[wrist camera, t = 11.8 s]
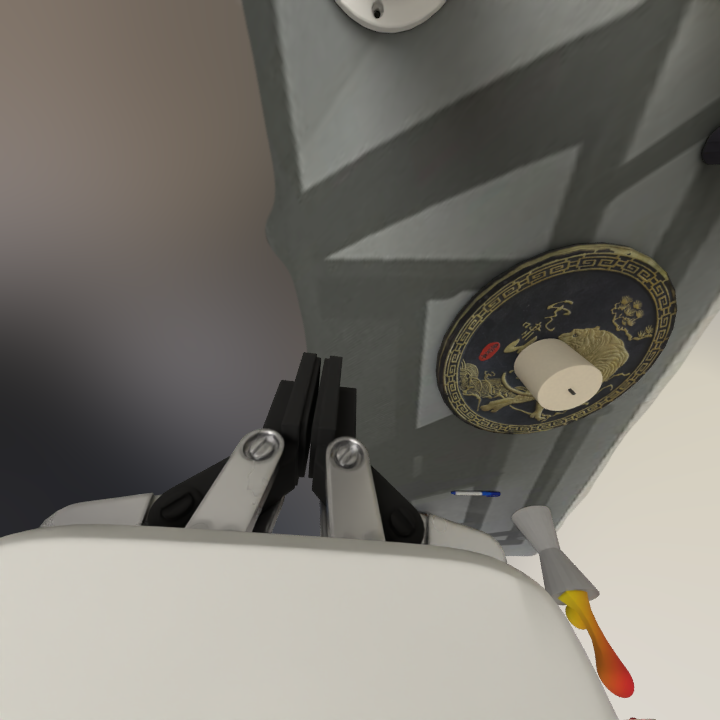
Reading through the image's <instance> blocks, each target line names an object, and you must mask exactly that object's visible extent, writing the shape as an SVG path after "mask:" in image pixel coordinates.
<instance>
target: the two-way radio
mask: <svg viewBox="0 0 720 720" xmlns="http://www.w3.org/2000/svg"><path fill="white" fill-rule="evenodd" d="M702 158H703V160H704V162H705V163H706V164H720V127H718V128H717V129H716V130H715V131H714V132H713V133H712V134H711V136H710V137H709V139H708V140H707V141H706V145H705V147H704V149H703V151H702Z"/></svg>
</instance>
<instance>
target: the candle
mask: <svg viewBox="0 0 720 720" xmlns="http://www.w3.org/2000/svg"><path fill="white" fill-rule="evenodd" d="M514 371H515V374H516V375H517V377H518V378H519V379H520V380H521V382H522V383H523V384H524V385H525V386H526V388H527V389H528V390H529V391H530V393H531V394H532V395H533V396H534V398H535V399H536V400H537V401H538V403H539V404H540V405H541V406H542V407H544V408H545V409H548V410H552V411H563V410H568V409H572V408H575V407H577V406H579V405H581V404H583V403H585V402H586V401H588V400H589V399H590V398H592V397H593V396H594V395H595V394H596V393H597V391H598V390H599V388H600V387H601V384H602V374H601V372H600V371H599V370H598V369H597V368H596V367H595V366H594V365H592V364H591V363H590V362H588V361H587V360H586V359H585V358H583V357H582V356H581V355H580V354H578V353H577V352H576V351H575V350H573V349H572V348H571V347H570V346H568V345H567V344H566V343H564V342H563V341H561V340H558V339H543V340H540V341H537V342H534V343H532V344H531V345H529V346H527V347H526V348H525V349H524V350H523V351H522V352H521V353H520V354H519V355H518V357H517V358H516V361H515V364H514Z"/></svg>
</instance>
